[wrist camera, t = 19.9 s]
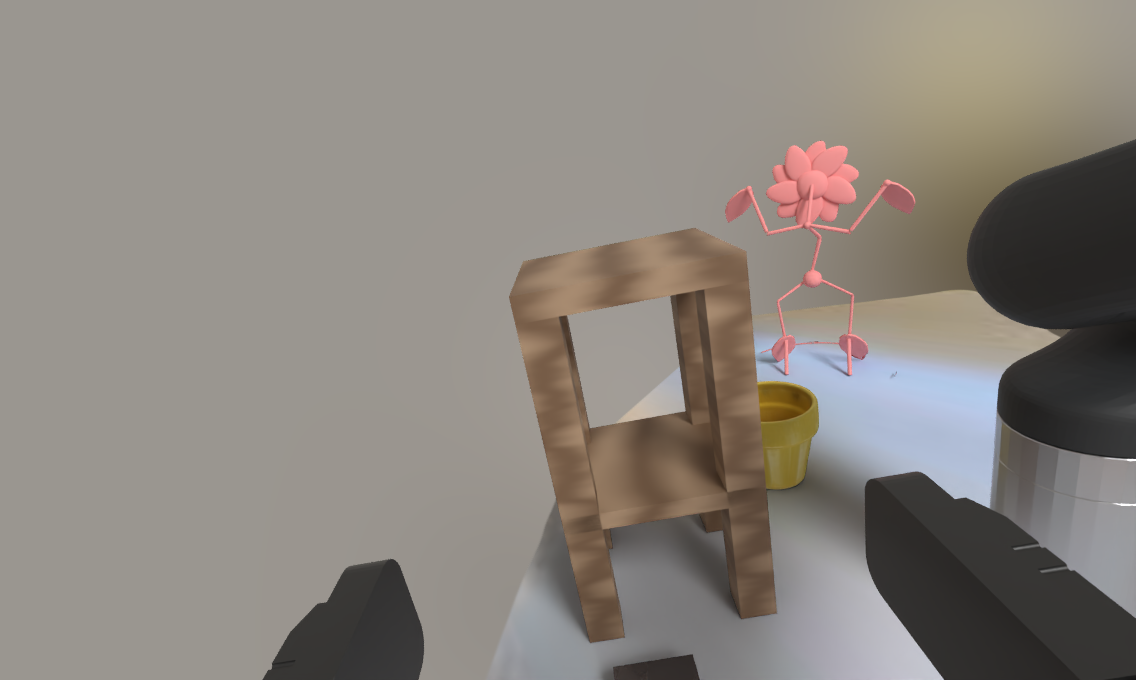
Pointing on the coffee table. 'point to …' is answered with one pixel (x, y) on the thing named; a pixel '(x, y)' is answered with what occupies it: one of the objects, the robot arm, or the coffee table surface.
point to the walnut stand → (659, 444)
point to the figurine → (812, 192)
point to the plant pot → (786, 431)
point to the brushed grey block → (659, 670)
